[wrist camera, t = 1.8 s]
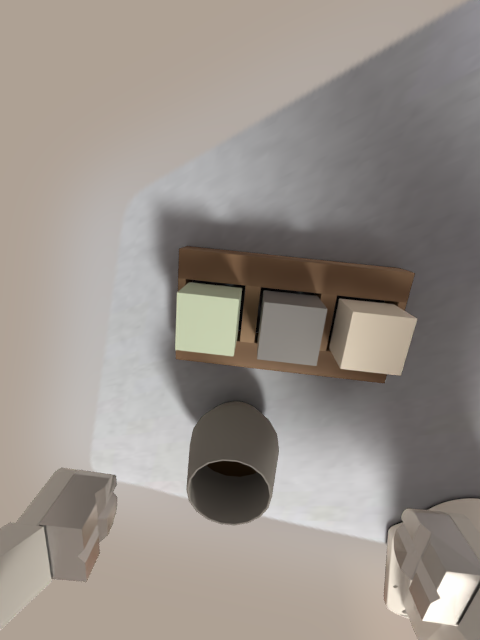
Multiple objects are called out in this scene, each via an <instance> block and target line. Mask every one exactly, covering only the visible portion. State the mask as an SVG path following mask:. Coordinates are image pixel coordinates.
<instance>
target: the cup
mask: <svg viewBox="0 0 480 640" xmlns="http://www.w3.org/2000/svg"><path fill="white" fill-rule="evenodd" d="M278 453H279V447H278V438H277V433H276V432H275V430H274V428H273V426H272V425H271V423H270V421H269V420H268V419H267V418H266V417H265V416H264V415H263V414H262V413H260V412H259V411H258V410H257V409H256V408H254V407H253V406H252V405H250V404H247V403H244V402H238V401H231V402H227V403H223V404H221V405H219V406H217V407H215V408H214V409H212V410H211V411H209V412H208V413H206V414H205V415H203V416H202V417H201V419H200V420H199V422H198V423H197V424H196V426H195V427H194V429H193V432H192V437H191V442H190V451H189V464H188V477H187V494H188V498H189V501H190V503H191V504H192V506H193V507H194V509H195V510H196V511H197V512H198V513H200V514H201V515H202V516H204V517H205V518H207V519H208V520H211V521H213V522H216V523H219V524H226V525H240V524H245V523H249V522H251V521H253V520H255V519H257V518H259V517H260V516H261V515H262V514H263V513H264V512H265V511H266V510H267V509H268V507H269V504H270V501H271V498H272V492H273V486H274V479H275V473H276V466H277V460H278Z"/></svg>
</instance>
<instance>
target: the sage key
mask: <svg viewBox="0 0 480 640" xmlns="http://www.w3.org/2000/svg"><path fill="white" fill-rule="evenodd" d="M241 295H242V288H239V287H230V286H220V285H211V284H202V283H193V282H189V283H188V284H186V285H185V286H184V287H183V288H182V289H181V290H179V291H178V292H177V307H176V339H175V350H181V351H190V352H199V353H207V354H216V355H225V356H233V357H234V352H235V347H236V342H237V335H238V325H239V315H240V305H241Z"/></svg>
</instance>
